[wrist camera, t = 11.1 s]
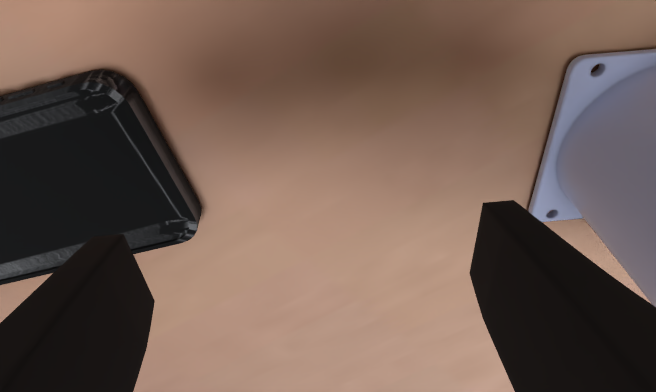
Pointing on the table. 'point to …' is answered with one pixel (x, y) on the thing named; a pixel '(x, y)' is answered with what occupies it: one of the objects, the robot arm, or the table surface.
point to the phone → (85, 174)
